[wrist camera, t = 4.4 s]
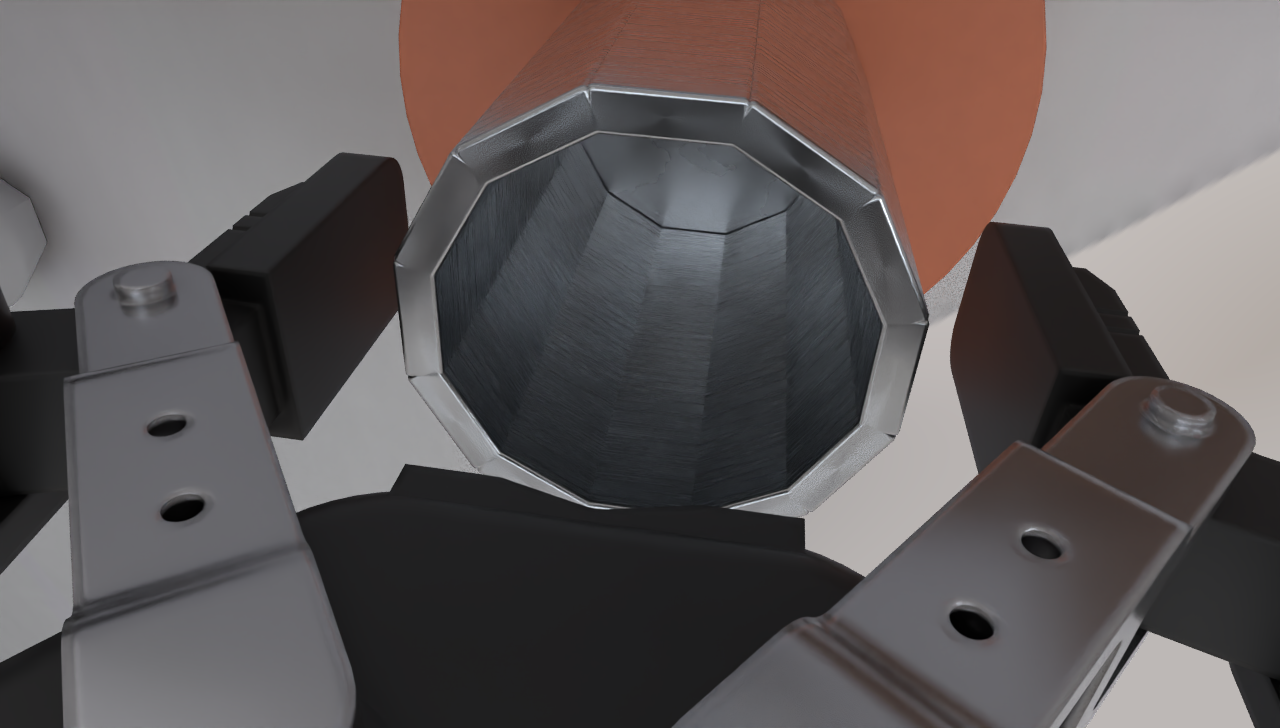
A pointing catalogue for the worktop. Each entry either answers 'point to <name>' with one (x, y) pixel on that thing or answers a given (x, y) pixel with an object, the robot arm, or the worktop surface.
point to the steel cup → (670, 264)
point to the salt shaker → (17, 242)
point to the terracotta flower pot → (889, 54)
